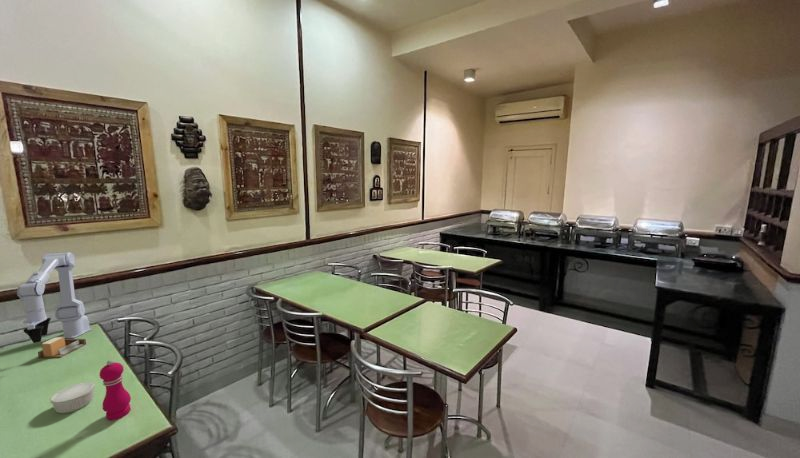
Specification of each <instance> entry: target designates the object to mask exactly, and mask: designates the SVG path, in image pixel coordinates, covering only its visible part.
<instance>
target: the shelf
mask: <svg viewBox="0 0 800 458" xmlns="http://www.w3.org/2000/svg"><path fill="white" fill-rule="evenodd" d="M64 340H65V345H66V346H65V347H63V348H61V349H59V350H58V354H56V355H54V356H44V354H43V349H42V350H39V351H37V355H38V358H39V359H46V358H47V359H50V358H51V359H55V358H57V359H58V358H59V359H60V358H62V357H64V356H67V355H69V354H71V353H72V352H74V351H77V350H78V349H80V348H82V347H84V346H85V345H87V340H86V338H64Z"/></svg>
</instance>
